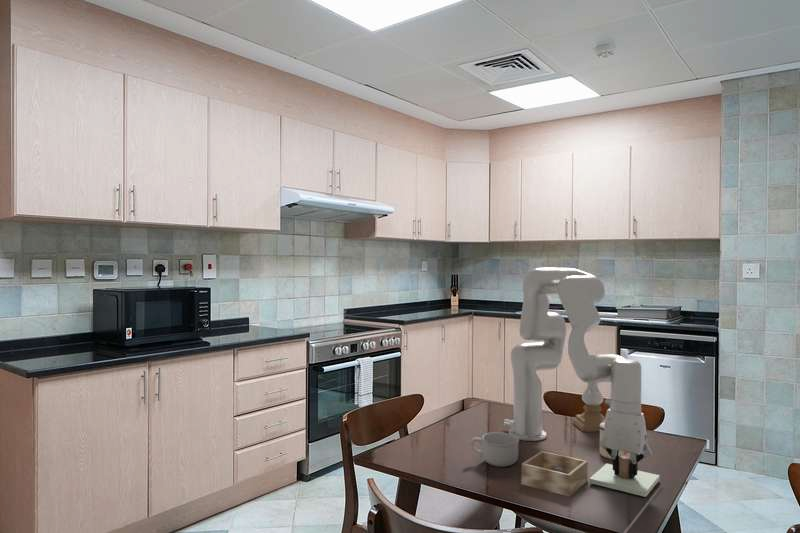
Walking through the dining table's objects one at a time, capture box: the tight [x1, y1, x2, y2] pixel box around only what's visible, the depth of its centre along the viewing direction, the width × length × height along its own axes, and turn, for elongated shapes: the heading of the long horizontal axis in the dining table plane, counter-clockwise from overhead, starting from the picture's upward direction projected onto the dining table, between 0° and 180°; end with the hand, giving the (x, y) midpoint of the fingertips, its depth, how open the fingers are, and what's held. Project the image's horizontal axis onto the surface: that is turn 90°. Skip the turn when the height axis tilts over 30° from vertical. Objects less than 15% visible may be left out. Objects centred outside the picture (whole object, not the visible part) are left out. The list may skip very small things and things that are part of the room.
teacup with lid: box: [599, 422, 631, 460], centre depth 173 cm, size 12×9×12 cm
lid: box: [588, 456, 660, 498], centre depth 148 cm, size 14×14×6 cm
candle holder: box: [572, 383, 606, 433], centre depth 202 cm, size 11×11×24 cm
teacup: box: [470, 431, 520, 468], centre depth 164 cm, size 14×11×8 cm
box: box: [520, 450, 589, 498], centre depth 149 cm, size 13×13×6 cm
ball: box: [553, 467, 565, 473], centre depth 151 cm, size 3×3×3 cm
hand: (624, 474), depth 148 cm, fingers closed on lid, 3 cm apart
